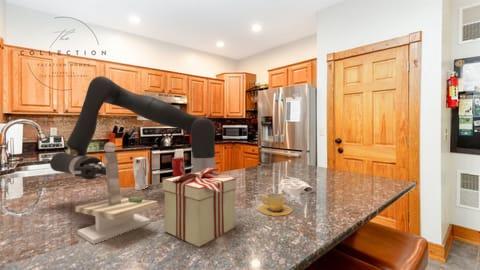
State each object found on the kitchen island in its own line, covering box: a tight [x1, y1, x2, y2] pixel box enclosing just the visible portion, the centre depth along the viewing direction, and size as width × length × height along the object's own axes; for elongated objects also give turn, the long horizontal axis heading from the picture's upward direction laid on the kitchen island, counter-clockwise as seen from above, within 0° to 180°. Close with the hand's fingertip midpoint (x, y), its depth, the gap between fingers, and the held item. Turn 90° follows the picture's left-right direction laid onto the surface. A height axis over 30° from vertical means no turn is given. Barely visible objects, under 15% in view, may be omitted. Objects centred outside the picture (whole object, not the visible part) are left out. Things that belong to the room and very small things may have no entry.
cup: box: [257, 192, 293, 217], centre depth 82 cm, size 12×12×5 cm
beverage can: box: [171, 156, 186, 178], centre depth 114 cm, size 6×6×15 cm
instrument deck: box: [74, 141, 159, 220], centre depth 68 cm, size 24×12×20 cm, turn 54°
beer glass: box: [132, 156, 150, 191], centre depth 113 cm, size 7×7×15 cm
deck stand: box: [77, 213, 151, 245], centre depth 68 cm, size 10×16×5 cm, turn 144°
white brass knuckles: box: [277, 178, 314, 196], centre depth 109 cm, size 3×18×15 cm
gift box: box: [162, 167, 238, 248], centre depth 66 cm, size 17×18×17 cm
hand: (110, 172), depth 69 cm, fingers closed
